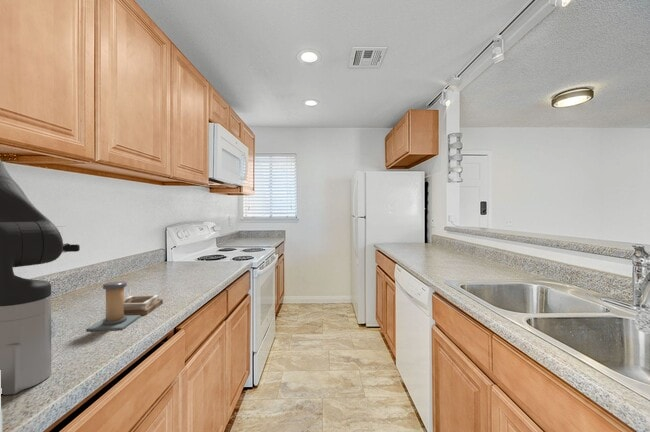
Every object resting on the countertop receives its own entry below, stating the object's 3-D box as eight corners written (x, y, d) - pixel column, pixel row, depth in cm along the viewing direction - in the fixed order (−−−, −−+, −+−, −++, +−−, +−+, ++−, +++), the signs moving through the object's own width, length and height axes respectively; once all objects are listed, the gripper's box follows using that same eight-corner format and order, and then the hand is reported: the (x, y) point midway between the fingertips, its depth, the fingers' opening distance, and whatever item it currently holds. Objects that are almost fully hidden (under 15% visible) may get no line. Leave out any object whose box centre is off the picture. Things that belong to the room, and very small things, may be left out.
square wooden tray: (146, 314, 96) (146, 304, 96) (108, 315, 94) (108, 305, 94) (162, 303, 108) (162, 294, 107) (129, 304, 106) (129, 295, 106)
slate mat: (122, 329, 84) (123, 327, 84) (86, 330, 82) (86, 328, 82) (140, 316, 94) (140, 315, 94) (108, 317, 92) (108, 316, 92)
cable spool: (119, 325, 85) (119, 285, 85) (98, 325, 85) (98, 286, 84) (130, 317, 91) (130, 281, 91) (110, 318, 91) (110, 281, 90)
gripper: (-18, 240, 77) (48, 239, 79) (30, 236, 91) (85, 235, 93) (-17, 267, 77) (48, 265, 79) (30, 259, 91) (85, 258, 93)
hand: (68, 249), depth 86 cm, fingers open, 8 cm apart
